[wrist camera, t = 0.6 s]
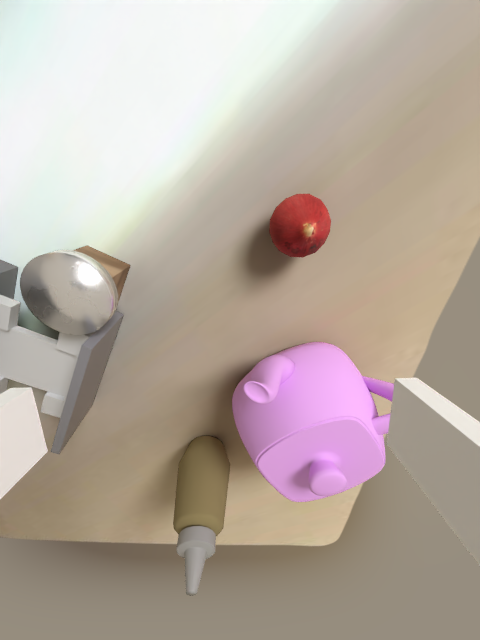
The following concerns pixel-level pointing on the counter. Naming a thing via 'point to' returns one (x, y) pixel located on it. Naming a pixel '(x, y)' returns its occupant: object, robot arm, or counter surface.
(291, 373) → the teapot
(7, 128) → the counter surface
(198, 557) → the squeeze bottle
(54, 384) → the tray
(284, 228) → the onion
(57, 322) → the disc
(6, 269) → the box
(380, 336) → the counter surface
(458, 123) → the counter surface
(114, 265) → the brown wooden block
